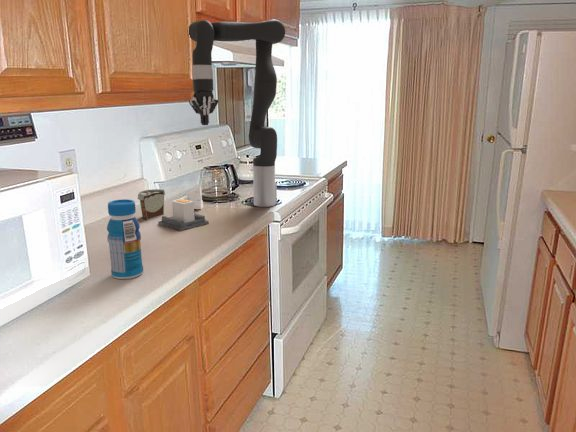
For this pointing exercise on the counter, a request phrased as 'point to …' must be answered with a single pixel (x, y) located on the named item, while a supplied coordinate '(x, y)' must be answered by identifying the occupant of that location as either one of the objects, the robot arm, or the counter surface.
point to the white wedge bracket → (196, 197)
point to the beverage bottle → (124, 240)
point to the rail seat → (181, 225)
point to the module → (183, 210)
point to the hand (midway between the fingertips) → (204, 125)
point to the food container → (152, 203)
